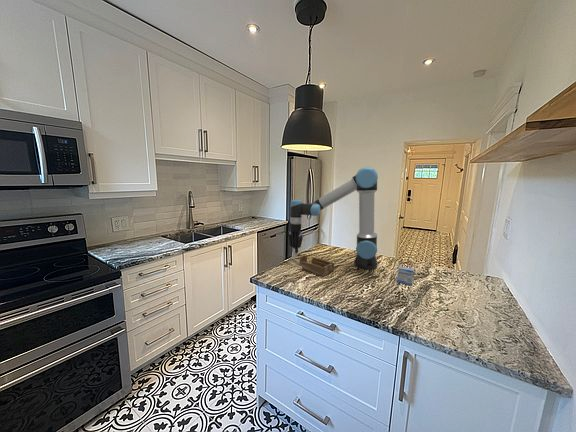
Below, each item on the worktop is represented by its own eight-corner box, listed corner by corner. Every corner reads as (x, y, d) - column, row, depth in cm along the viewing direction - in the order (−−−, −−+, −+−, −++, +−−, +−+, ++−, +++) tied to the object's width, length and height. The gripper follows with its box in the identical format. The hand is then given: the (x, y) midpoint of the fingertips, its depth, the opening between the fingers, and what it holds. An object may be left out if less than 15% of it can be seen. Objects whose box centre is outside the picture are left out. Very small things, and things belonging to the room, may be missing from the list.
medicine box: (396, 282, 139) (398, 268, 138) (397, 279, 143) (398, 265, 142) (412, 285, 136) (413, 270, 134) (412, 282, 140) (413, 268, 138)
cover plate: (295, 260, 174) (295, 250, 173) (309, 265, 165) (309, 255, 164) (286, 263, 168) (286, 253, 167) (300, 268, 159) (300, 258, 158)
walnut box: (313, 265, 164) (313, 257, 163) (333, 271, 154) (334, 263, 153) (302, 270, 155) (302, 261, 154) (323, 277, 145) (323, 268, 144)
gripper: (284, 222, 164) (284, 256, 168) (299, 225, 155) (298, 260, 159) (292, 221, 169) (291, 253, 173) (307, 223, 161) (306, 258, 165)
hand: (295, 257), depth 166 cm, fingers closed
